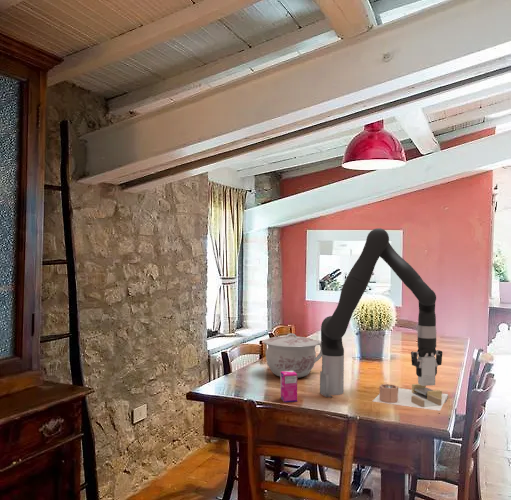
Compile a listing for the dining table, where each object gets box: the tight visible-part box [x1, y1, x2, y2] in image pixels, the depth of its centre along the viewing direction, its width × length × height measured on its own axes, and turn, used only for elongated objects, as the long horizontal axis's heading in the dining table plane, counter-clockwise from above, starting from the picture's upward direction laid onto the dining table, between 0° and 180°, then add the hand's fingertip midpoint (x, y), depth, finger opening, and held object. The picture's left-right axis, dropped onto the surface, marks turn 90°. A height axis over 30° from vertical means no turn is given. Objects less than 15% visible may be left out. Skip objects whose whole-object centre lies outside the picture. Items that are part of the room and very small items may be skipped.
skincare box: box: [417, 355, 436, 387], centre depth 221 cm, size 6×4×12 cm
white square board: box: [372, 383, 449, 415], centre depth 218 cm, size 26×26×5 cm
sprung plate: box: [415, 387, 435, 395], centre depth 221 cm, size 6×8×1 cm
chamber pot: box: [262, 333, 322, 379], centre depth 259 cm, size 28×28×21 cm
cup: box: [379, 383, 399, 404], centre depth 214 cm, size 7×7×6 cm
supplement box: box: [279, 371, 298, 403], centre depth 216 cm, size 6×6×12 cm
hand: (426, 375), depth 221 cm, fingers closed on skincare box, 6 cm apart
